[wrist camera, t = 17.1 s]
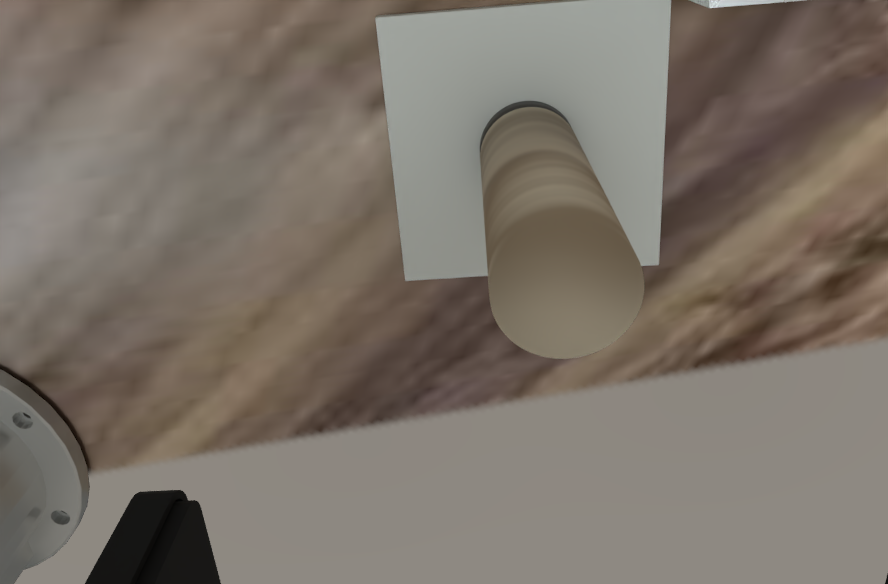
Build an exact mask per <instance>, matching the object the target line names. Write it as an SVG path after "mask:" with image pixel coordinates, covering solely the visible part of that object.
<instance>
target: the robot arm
mask: <svg viewBox="0 0 888 584" xmlns="http://www.w3.org/2000/svg"><path fill="white" fill-rule="evenodd" d="M89 487H90V486H89V477H88V469H87V465H86V462H85V459H84V456H83V454H82V451H81V448H80V446H79V444H78V442H77V440H76V439H75V437H74V435H73V434H72V432H71V430H70V429H69V427H68V425H67V424H66V423H65V422H64V421H63V419H62V418H61V417H60V416H59V415H58V414H57V412H56V411H55V410H54V409H53V408H52V407H51V405H49V404H48V403H47V402H46V401H45V400H44V399H42V398H41V397H40V396H39V395H38V394H37V393H35V392H34V391H33V390H32V389H31V388H30V387H28V386H27V385H25V384H24V383H22V382H20V381H19V380H17V379H16V378H14V377H13V376H11V375H9V374H8V373H6V372H5V371H3V370H1V369H0V584H14V583H15V581H16V580H17V578H18V577H19V575H20V574H21V572H22V571H23V570H24V569H27V568H30V567H33V566H35V565H38V564H40V563H41V562H43V561H45V560H46V559H48V558H50V557H51V556H53V555H54V554H56V553H57V551H58V550H59V549H61V548H62V547H63V545H65V544H66V543H67V542H68V540H69V539H70V537H71V536H72V534H73V532H74V531H75V529H76V528H77V526H78V525H79V523H80V521H81V519H82V516H83V514H84V512H85V509H86V507H87V503H88V496H89ZM85 584H221V583H220V579H219V575H218V571H217V567H216V564H215V560H214V556H213V552H212V548H211V545H210V541H209V537H208V533H207V529H206V525H205V522H204V518H203V514H202V510H201V507H200V504H199V503H198V502H197V501H195V500H194V501H188V500H187V497H186V494H185V493H184V492H183V491H181V490H170V491H148V492H139V493H137V494H135V495H134V497H133V498H132V499H131V501H130V503H129V505H128V507H127V508H126V510H125V512H124V514H123V516H122V517H121V519H120V521H119V523H118V525H117V526H116V528H115V530H114V532H113V534H112V535H111V537H110V539H109V541H108V543H107V545H106V546H105V548H104V550H103V552H102V554H101V555H100V557H99V559H98V561H97V563H96V564H95V566H94V568H93V570H92V572H91V574H90V575H89V577H88V579H87V581H86V583H85ZM885 584H888V575H887V579H886V583H885Z"/></svg>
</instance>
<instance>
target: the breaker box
mask: <svg viewBox="0 0 888 584" xmlns="http://www.w3.org/2000/svg"><path fill="white" fill-rule="evenodd" d="M690 1H692V2H695V3H697V4H700V5H702V6H705V7H708V8H717V7H729V6H742V5H754V4H766V3H778V2H791V1H803V0H690Z"/></svg>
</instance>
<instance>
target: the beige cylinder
mask: <svg viewBox="0 0 888 584" xmlns="http://www.w3.org/2000/svg"><path fill="white" fill-rule="evenodd" d="M480 165H481V180H482V195H483V210H484V225H485V240H486V254H487V269H488V284H489V298H490V306H491V309H492V313H493V316H494V318H495V320H496V322H497V324H498V326H499V327H500V329H501V330H502V332H503V333H504V334H505V335H506V336H507V337H508V338H509V339H510V340H511V341H512V342H513V343H515V344H516V345H518V346H519V347H521V348H522V349H524V350H526V351H528V352H530V353H533V354H536V355H538V356H542V357H547V358H554V359H571V358H578V357H583V356H587V355H590V354H593V353H596V352H598V351H600V350H602V349H604V348H606V347H607V346H609V345H611V344H612V343H614V342H615V341H616V340H617V339H619V338H620V337H621V336H622V335H623V334H624V333H625V332H626V331H627V330H628V328H629V327H630V326H631V324H632V323H633V322H634V320H635V318H636V316H637V315H638V312H639V310H640V308H641V305H642V301H643V297H644V275H643V270H642V267H641V264H640V261H639V259H638V257H637V255H636V253H635V251H634V249H633V247H632V245H631V244H630V242H629V240H628V238H627V236H626V234H625V232H624V230H623V228H622V226H621V224H620V222H619V220H618V218H617V216H616V214H615V212H614V210H613V208H612V206H611V204H610V202H609V200H608V198H607V196H606V194H605V192H604V190H603V188H602V186H601V184H600V182H599V181H598V179H597V177H596V175H595V173H594V171H593V169H592V167H591V165H590V163H589V161H588V159H587V157H586V155H585V153H584V151H583V149H582V147H581V145H580V143H579V141H578V139H577V137H576V135H575V133H574V131H573V129H572V127H571V125H570V124H569V122H568V120H567V119H566V118H565V116H564V115H563V114H562V113H561V112H559V111H558V110H557V109H556V108H554V107H552V106H550V105H548V104H546V103H542V102H538V101H521V102H516V103H513V104H511V105H508V106H506V107H504V108H503V109H501V110H500V111H498V112H497V113H496V114H495V115H494V116H493V117H492V118H491V119H490V121H489V122H488V123H487V125H486V127H485V129H484V131H483V133H482V136H481V140H480Z"/></svg>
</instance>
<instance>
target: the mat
mask: <svg viewBox="0 0 888 584" xmlns="http://www.w3.org/2000/svg"><path fill="white" fill-rule="evenodd" d="M670 15H671V0H560V1H548V2H536V3H524V4H511V5H499V6H487V7H475V8H463V9H451V10H439V11H427V12H415V13H403V14H390V15H378V16H376V18H375V19H376V27H377V36H378V45H379V54H380V63H381V71H382V80H383V89H384V98H385V107H386V115H387V124H388V133H389V142H390V151H391V159H392V168H393V177H394V186H395V195H396V203H397V212H398V221H399V230H400V239H401V247H402V256H403V265H404V274H405V281H413V280H429V279H445V278H461V277H477V276H488V269H487V254H486V240H485V225H484V210H483V195H482V180H481V165H480V140H481V136H482V133H483V131H484V129H485V127H486V125H487V123H488V122H489V121H490V119H491V118H492V117H493V116H494V115H495V114H496V113H497V112H498V111H500V110H501V109H503V108H504V107H506V106H508V105H511V104H513V103H516V102H521V101H538V102H542V103H546V104H548V105H550V106H552V107H554V108H556V109H557V110H558V111H559V112H561V113H562V114H563V115H564V116H565V118H566V119H567V120H568V122H569V124H570V125H571V127H572V129H573V131H574V133H575V135H576V137H577V139H578V141H579V143H580V145H581V147H582V149H583V151H584V153H585V155H586V157H587V159H588V161H589V163H590V165H591V167H592V169H593V171H594V173H595V175H596V177H597V179H598V181H599V182H600V184H601V186H602V188H603V190H604V192H605V194H606V196H607V198H608V200H609V202H610V204H611V206H612V208H613V210H614V212H615V214H616V216H617V218H618V220H619V222H620V224H621V226H622V228H623V230H624V232H625V234H626V236H627V238H628V240H629V242H630V244H631V245H632V247H633V249H634V251H635V253H636V255H637V257H638V259H639V261H640V264H641V266H650V265H659V250H660V229H661V208H662V186H663V165H664V143H665V122H666V101H667V79H668V58H669V36H670Z"/></svg>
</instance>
